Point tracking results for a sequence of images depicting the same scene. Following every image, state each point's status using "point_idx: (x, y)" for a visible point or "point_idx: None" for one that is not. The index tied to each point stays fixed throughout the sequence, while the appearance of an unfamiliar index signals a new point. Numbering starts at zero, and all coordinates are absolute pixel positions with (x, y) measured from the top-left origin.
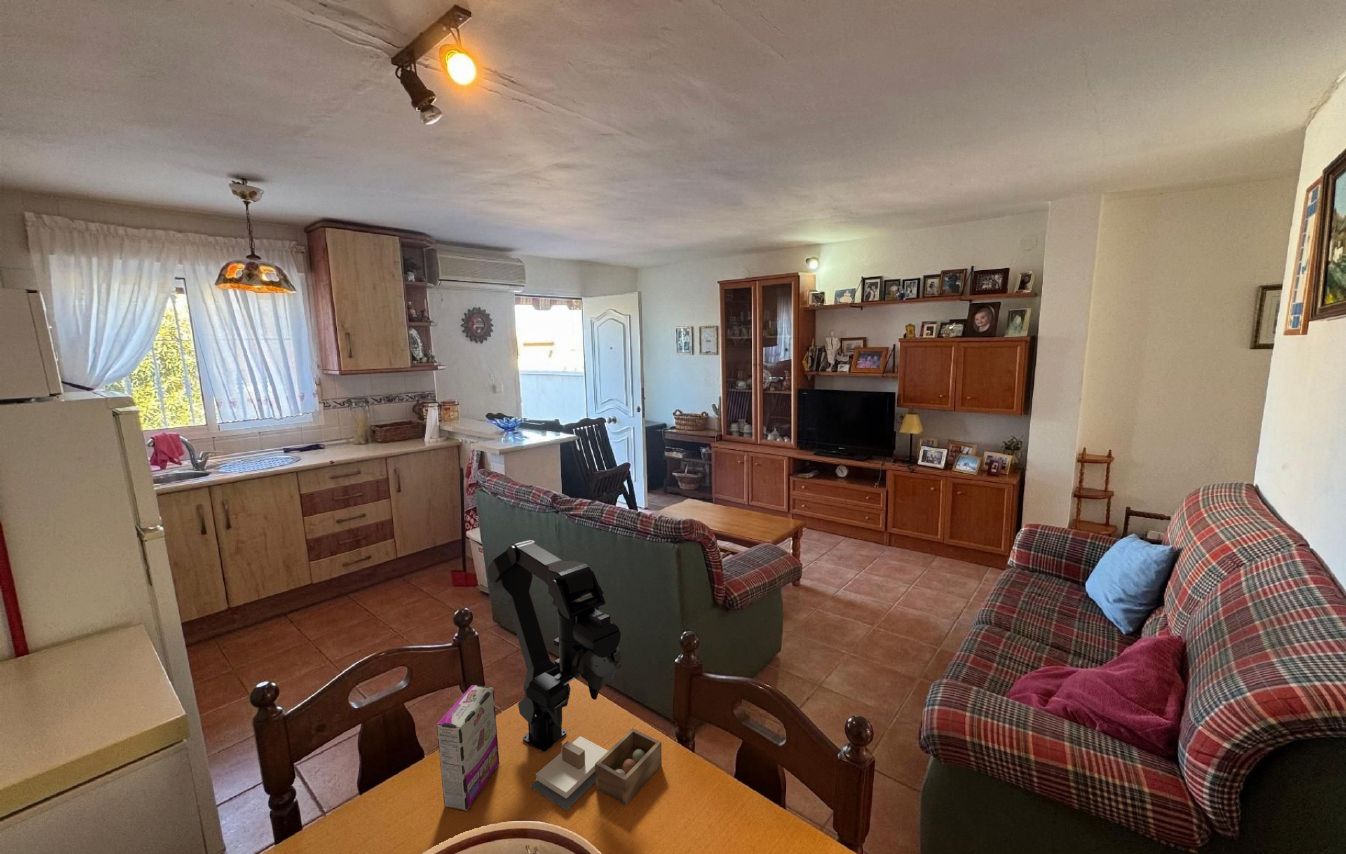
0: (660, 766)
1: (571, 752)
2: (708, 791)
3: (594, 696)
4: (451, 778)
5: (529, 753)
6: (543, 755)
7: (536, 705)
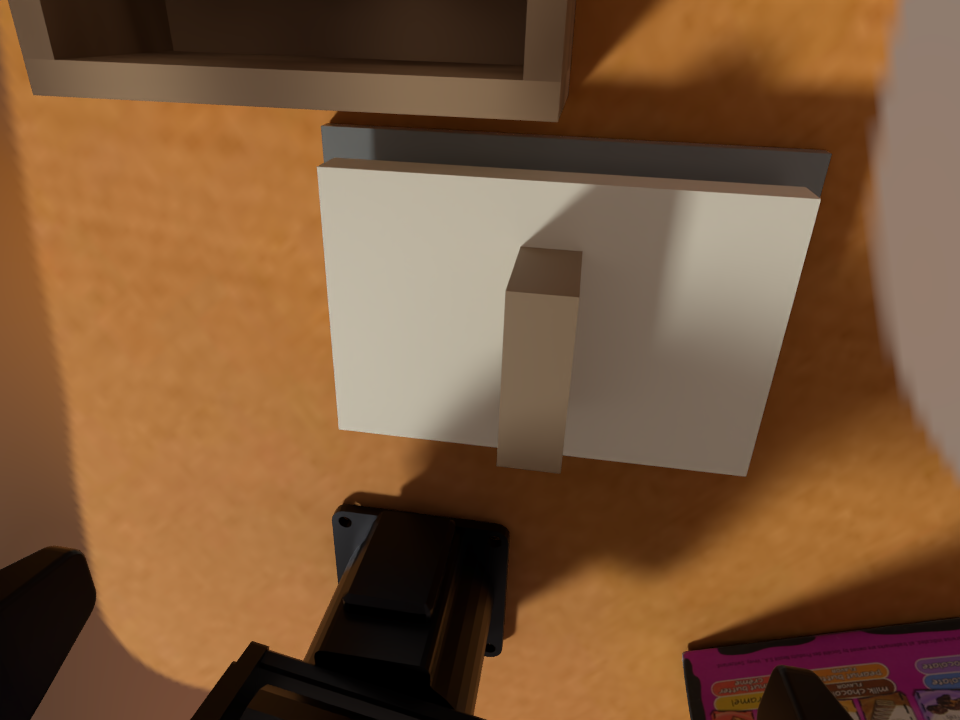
0: None
1: (570, 374)
2: None
3: (45, 597)
4: None
5: (548, 578)
6: (522, 517)
7: None
